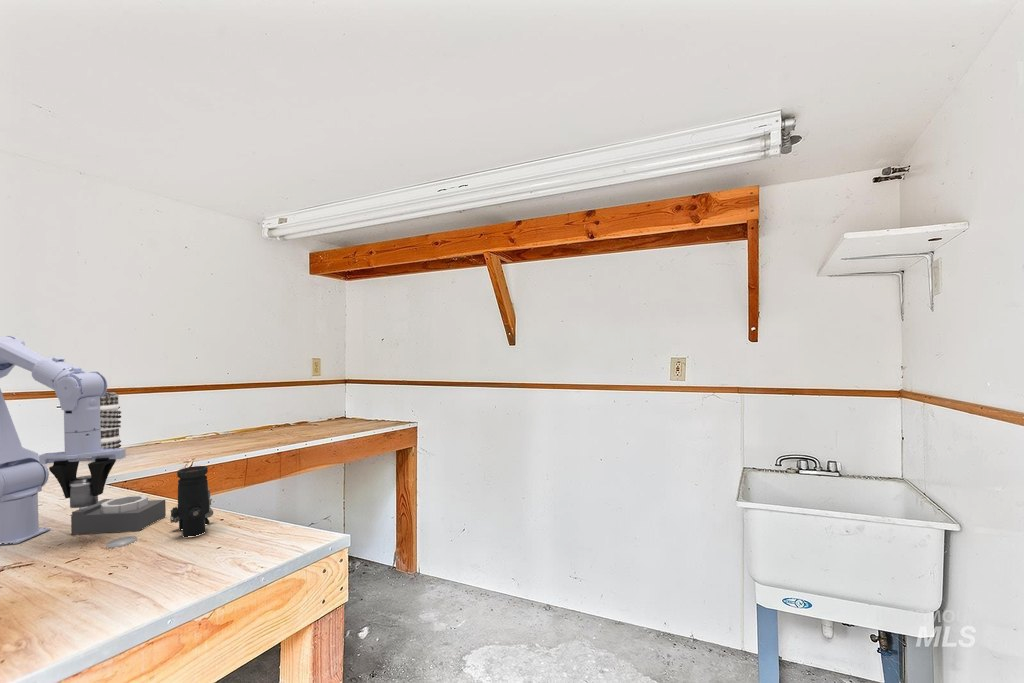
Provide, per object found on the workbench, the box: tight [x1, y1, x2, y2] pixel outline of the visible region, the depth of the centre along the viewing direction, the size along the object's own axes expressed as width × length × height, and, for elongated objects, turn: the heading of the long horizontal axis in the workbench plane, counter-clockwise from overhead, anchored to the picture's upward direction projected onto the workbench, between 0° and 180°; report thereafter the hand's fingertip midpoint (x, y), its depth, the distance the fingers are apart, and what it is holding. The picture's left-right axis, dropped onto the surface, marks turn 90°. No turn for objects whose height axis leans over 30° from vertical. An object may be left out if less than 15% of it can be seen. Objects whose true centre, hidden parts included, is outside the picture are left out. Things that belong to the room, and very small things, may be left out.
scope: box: [169, 465, 214, 538], centre depth 105 cm, size 8×14×10 cm
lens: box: [69, 474, 99, 509], centre depth 102 cm, size 4×4×6 cm
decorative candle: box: [91, 391, 122, 463], centre depth 178 cm, size 9×9×25 cm
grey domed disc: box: [105, 535, 138, 549], centre depth 100 cm, size 5×5×1 cm
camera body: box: [70, 494, 167, 535], centre depth 111 cm, size 14×9×6 cm, turn 94°
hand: (84, 495), depth 102 cm, fingers closed on lens, 4 cm apart
